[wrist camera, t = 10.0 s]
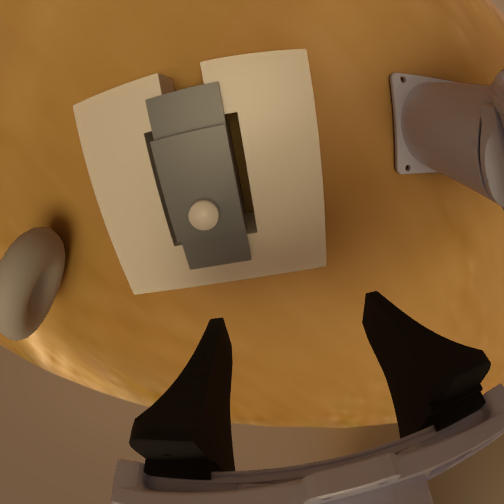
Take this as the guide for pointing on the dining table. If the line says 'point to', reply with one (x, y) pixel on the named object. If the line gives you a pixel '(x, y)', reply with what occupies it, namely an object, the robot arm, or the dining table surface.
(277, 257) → the chassis
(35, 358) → the dining table surface
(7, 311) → the donut
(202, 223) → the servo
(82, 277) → the dining table surface
